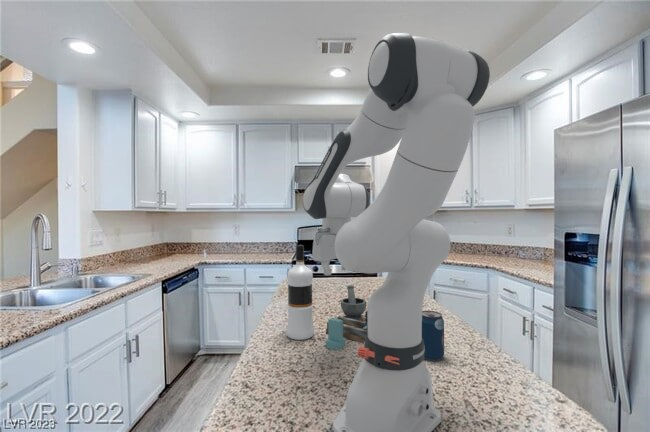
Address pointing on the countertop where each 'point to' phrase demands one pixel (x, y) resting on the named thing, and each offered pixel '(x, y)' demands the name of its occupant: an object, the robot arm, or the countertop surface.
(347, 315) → the mortar and pestle
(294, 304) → the vodka
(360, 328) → the rail
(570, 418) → the countertop surface
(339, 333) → the teal t-block
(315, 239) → the robot arm
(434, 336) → the soda can
